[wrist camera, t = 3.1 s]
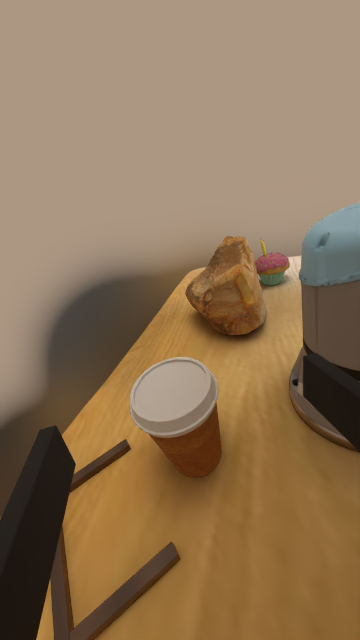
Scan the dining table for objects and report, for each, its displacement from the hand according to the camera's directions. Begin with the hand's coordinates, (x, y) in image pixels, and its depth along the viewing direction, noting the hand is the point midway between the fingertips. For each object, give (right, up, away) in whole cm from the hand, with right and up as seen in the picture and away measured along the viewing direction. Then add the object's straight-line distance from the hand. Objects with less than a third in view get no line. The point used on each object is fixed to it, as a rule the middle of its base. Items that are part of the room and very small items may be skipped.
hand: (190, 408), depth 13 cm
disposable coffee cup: (+2, -12, +18) cm, 22 cm away
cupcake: (+23, +15, +51) cm, 58 cm away
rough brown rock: (+10, +6, +44) cm, 46 cm away
